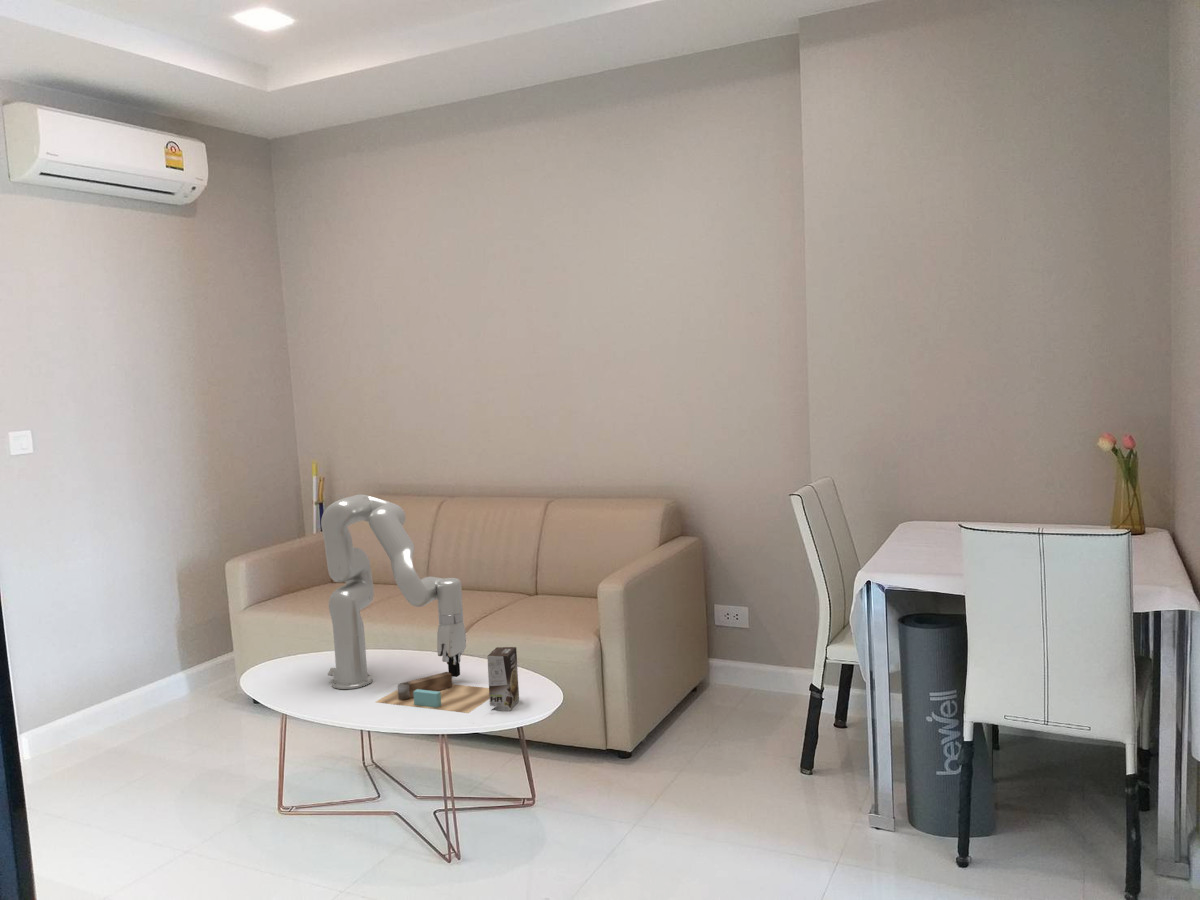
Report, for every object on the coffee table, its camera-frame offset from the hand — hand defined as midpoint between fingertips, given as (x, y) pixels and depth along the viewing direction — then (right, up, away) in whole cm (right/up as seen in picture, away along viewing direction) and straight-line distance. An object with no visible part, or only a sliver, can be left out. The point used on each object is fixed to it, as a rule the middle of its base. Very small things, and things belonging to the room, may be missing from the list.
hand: (454, 675), depth 281 cm
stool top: (-2, -4, -13) cm, 14 cm away
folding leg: (-7, -2, -10) cm, 13 cm away
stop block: (-4, -3, -21) cm, 21 cm away
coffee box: (+18, -4, -19) cm, 27 cm away
